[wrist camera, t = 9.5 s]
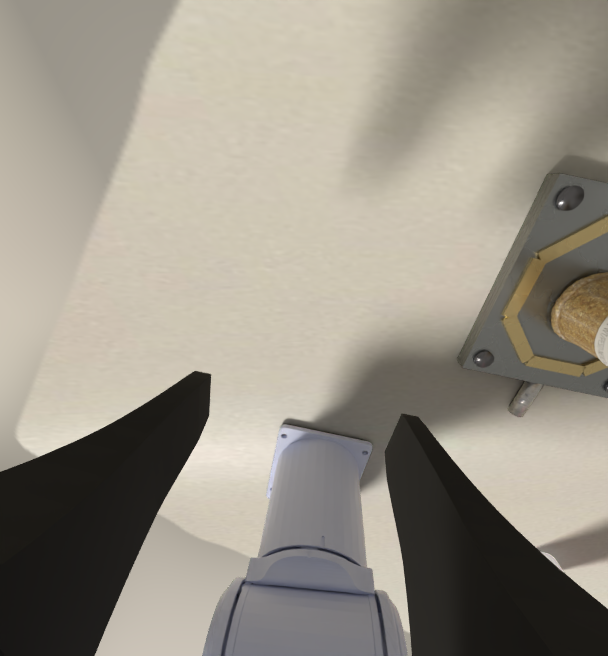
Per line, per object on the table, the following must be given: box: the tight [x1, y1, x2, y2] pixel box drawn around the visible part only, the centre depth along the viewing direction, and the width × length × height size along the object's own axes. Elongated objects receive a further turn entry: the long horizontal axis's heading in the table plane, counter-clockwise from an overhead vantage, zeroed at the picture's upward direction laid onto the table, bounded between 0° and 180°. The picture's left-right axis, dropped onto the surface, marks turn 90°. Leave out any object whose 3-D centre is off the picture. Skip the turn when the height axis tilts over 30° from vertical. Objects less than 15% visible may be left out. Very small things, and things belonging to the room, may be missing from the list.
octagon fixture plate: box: [457, 173, 608, 417], centre depth 18 cm, size 15×11×1 cm
